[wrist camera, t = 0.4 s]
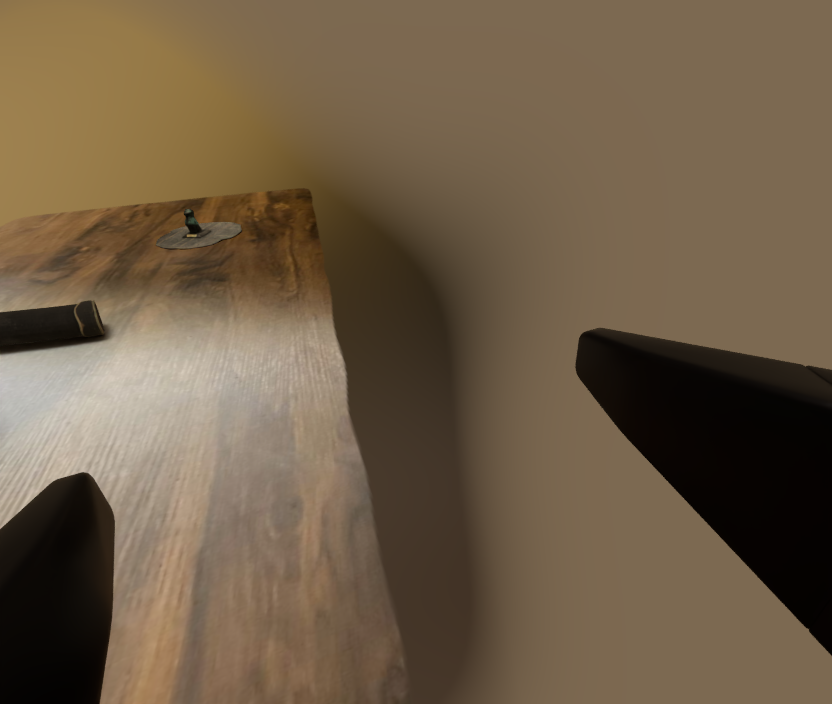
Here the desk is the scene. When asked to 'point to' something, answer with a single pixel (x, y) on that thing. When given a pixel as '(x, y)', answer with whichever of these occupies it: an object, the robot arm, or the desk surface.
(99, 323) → the banded dark tube
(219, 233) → the sculpture
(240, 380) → the desk surface
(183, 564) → the desk surface
